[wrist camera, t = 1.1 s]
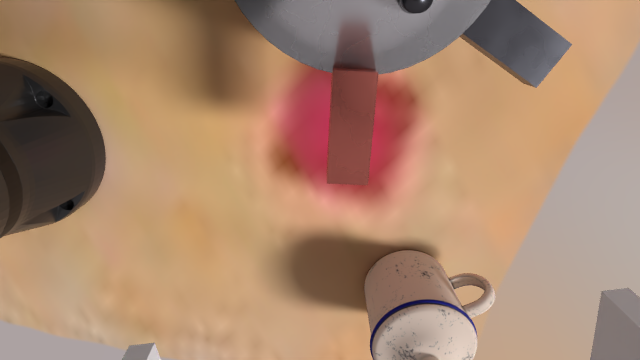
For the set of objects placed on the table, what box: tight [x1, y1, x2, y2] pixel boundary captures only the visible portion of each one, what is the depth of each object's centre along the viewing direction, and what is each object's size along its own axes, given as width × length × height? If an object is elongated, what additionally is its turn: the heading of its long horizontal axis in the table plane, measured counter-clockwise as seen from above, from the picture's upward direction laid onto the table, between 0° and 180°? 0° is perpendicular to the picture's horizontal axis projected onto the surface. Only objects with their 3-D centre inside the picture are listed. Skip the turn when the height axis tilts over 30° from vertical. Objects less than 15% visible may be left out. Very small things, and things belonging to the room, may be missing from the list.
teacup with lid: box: [364, 250, 495, 360], centre depth 37 cm, size 12×9×12 cm
